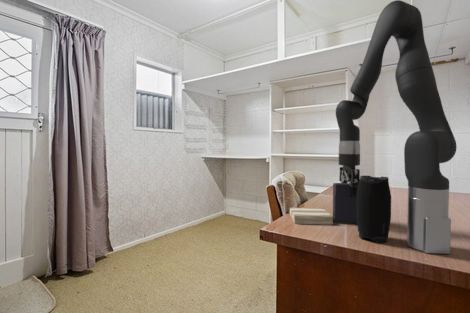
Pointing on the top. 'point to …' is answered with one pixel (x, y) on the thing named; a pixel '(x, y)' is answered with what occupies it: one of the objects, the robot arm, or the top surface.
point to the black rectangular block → (344, 204)
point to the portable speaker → (373, 208)
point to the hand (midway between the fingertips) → (348, 194)
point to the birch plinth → (311, 216)
